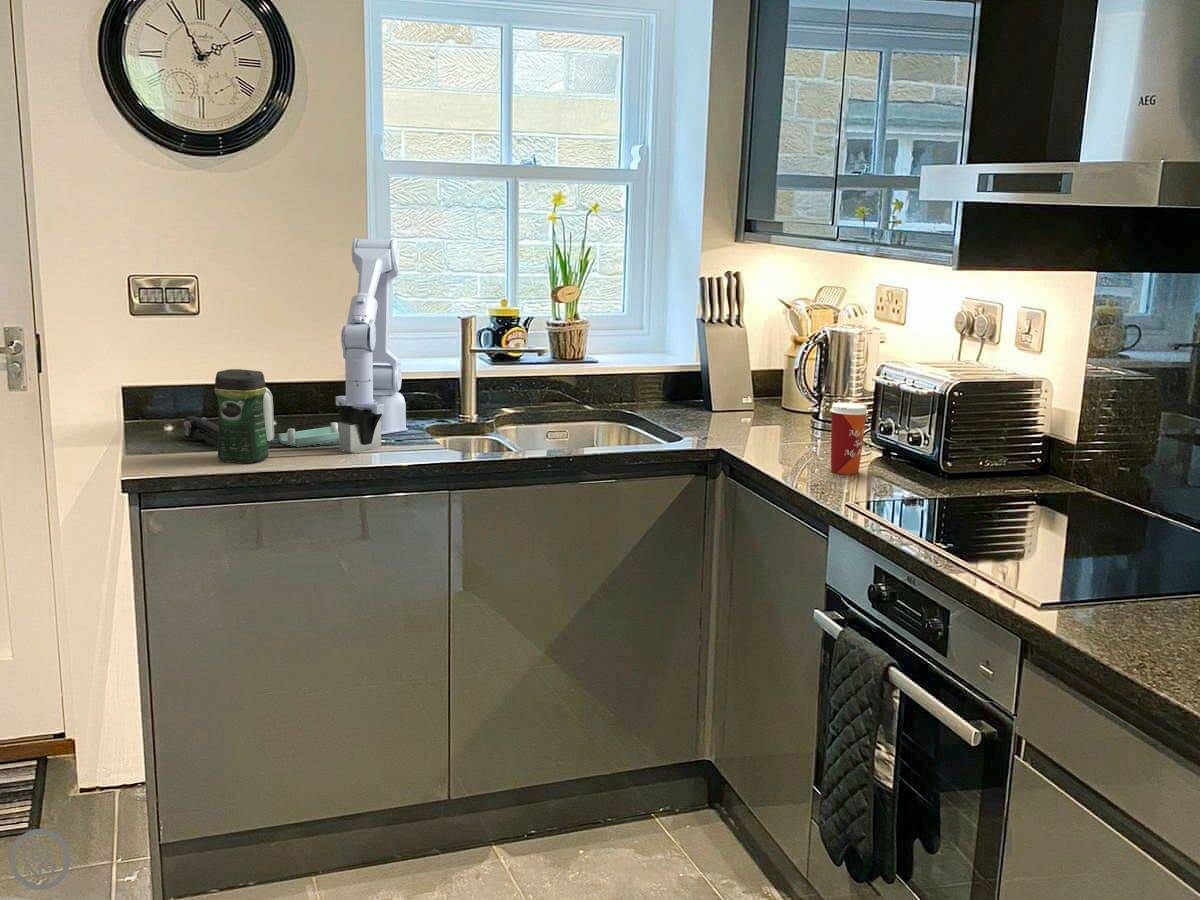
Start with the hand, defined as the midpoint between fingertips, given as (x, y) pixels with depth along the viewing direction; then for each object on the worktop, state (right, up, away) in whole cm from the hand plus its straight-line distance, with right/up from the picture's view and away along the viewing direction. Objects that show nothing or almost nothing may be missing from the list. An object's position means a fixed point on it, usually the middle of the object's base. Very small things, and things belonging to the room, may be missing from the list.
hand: (360, 442), depth 250 cm
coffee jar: (-21, -4, -13) cm, 25 cm away
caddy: (-12, 0, +7) cm, 13 cm away
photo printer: (-25, +1, +9) cm, 26 cm away
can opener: (-33, -1, +2) cm, 33 cm away
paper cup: (+102, -6, -9) cm, 103 cm away
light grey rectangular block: (0, -1, 0) cm, 1 cm away
